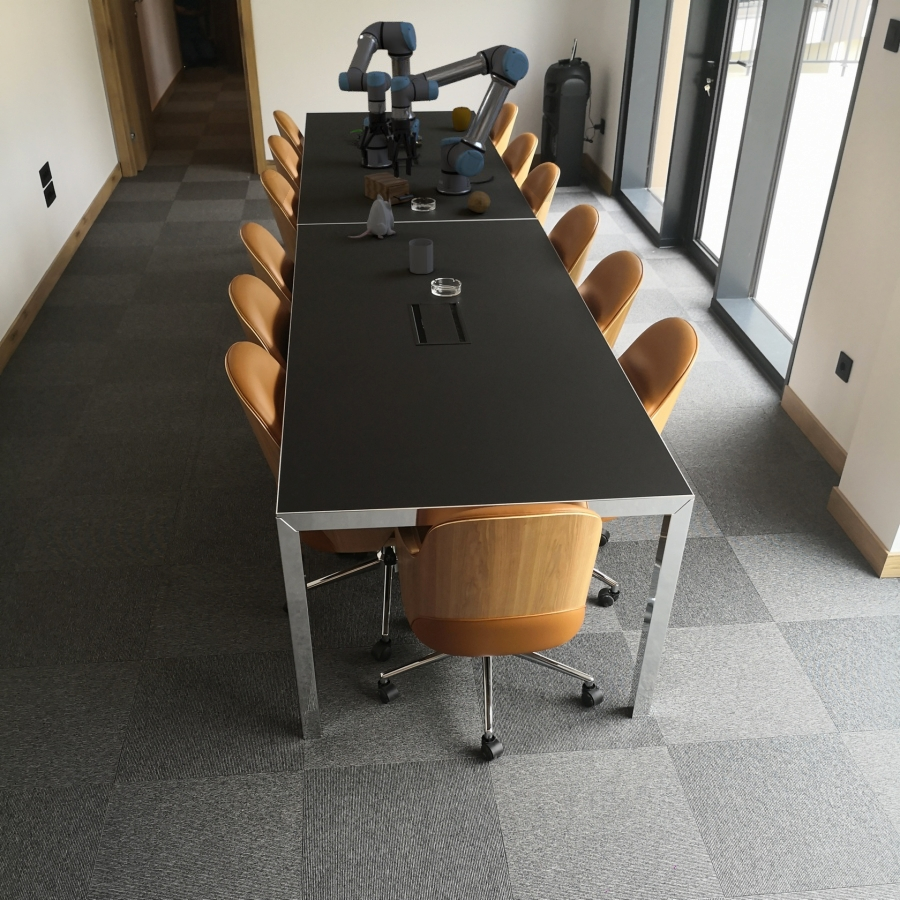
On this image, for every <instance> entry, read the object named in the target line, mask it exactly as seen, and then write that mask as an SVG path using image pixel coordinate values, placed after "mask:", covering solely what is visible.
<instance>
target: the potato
mask: <svg viewBox="0 0 900 900" xmlns="http://www.w3.org/2000/svg"><path fill="white" fill-rule="evenodd" d="M490 205H491V198H490V196H489V194H487V193H486V192H484V191H483V190H476V191H474V192H471V194H470V195H469V197H468V199H467V207H468V208H469V209H470V211H472V212H475V213H477V214H481V213H485V212H486V211H488V210H489V208H490Z"/></svg>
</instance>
